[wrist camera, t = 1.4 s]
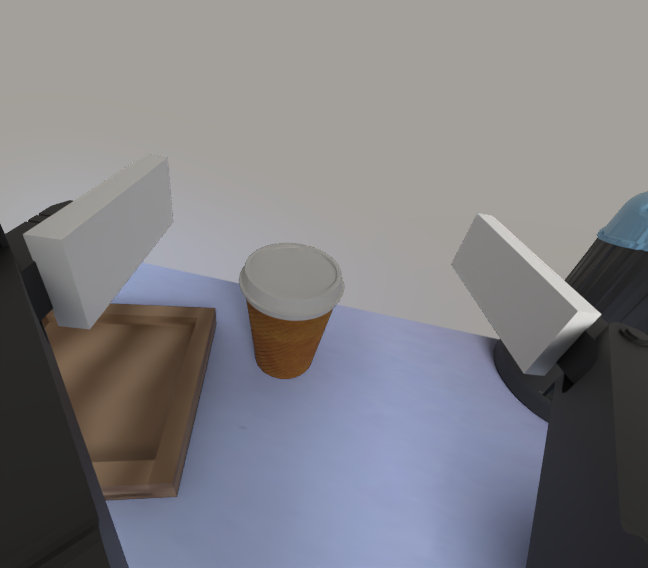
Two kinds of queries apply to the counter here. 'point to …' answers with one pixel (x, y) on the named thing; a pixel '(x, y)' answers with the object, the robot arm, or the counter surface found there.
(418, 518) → the counter surface
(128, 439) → the tray
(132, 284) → the counter surface
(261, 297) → the disposable coffee cup
